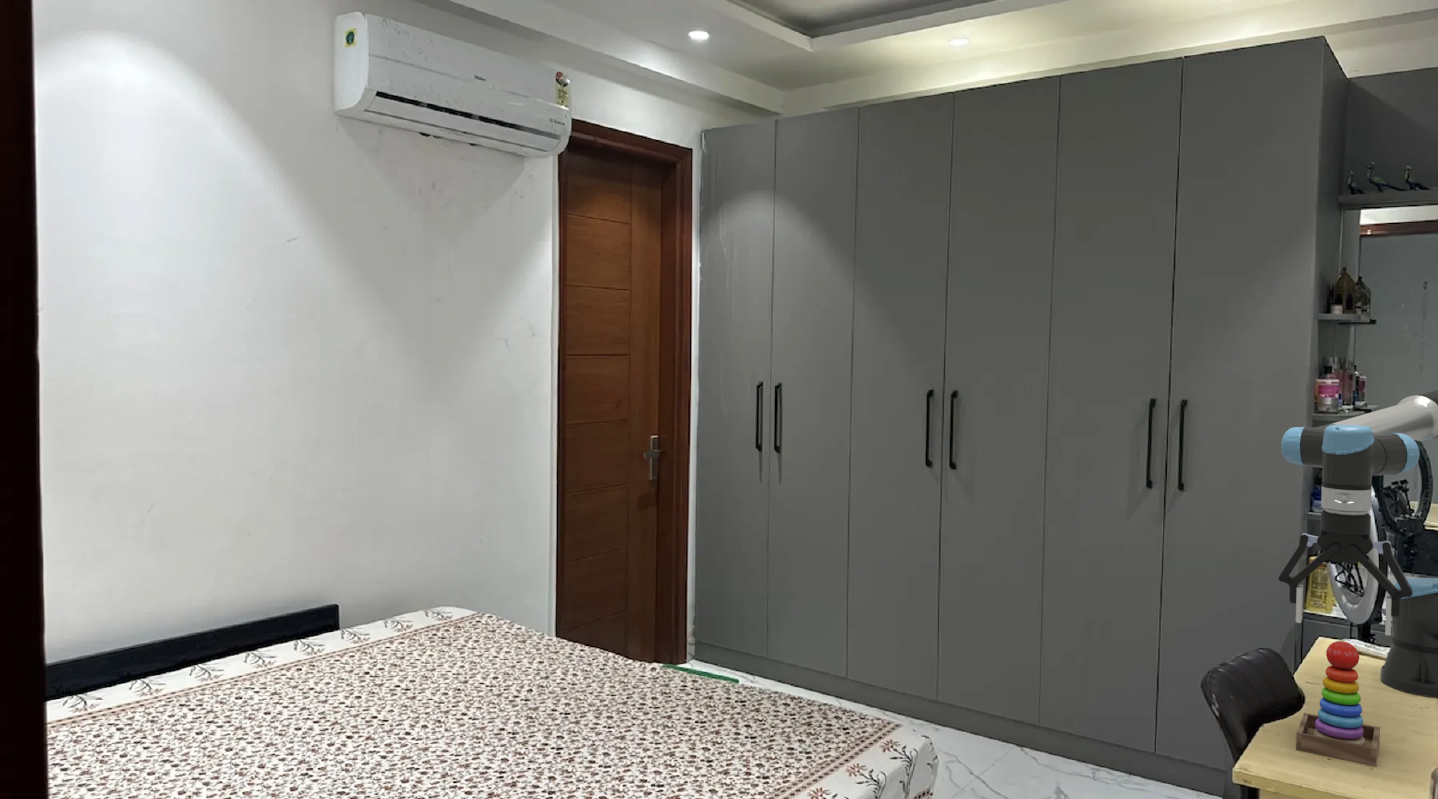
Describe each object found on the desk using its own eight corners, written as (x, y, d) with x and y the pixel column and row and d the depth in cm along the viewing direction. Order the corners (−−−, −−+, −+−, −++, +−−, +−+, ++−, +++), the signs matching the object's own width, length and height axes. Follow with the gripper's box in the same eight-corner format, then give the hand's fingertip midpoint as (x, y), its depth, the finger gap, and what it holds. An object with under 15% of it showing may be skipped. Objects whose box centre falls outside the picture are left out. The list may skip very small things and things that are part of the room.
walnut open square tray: (1303, 728, 186) (1304, 712, 185) (1379, 743, 178) (1380, 727, 178) (1296, 749, 176) (1296, 733, 176) (1375, 766, 169) (1376, 749, 169)
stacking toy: (1373, 754, 172) (1377, 650, 171) (1323, 750, 174) (1327, 647, 173) (1353, 737, 180) (1357, 637, 179) (1306, 733, 182) (1309, 634, 181)
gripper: (1263, 507, 179) (1261, 620, 180) (1431, 521, 164) (1427, 644, 166) (1269, 501, 185) (1267, 611, 186) (1431, 514, 170) (1427, 633, 172)
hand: (1342, 627), depth 176 cm, fingers open, 13 cm apart
